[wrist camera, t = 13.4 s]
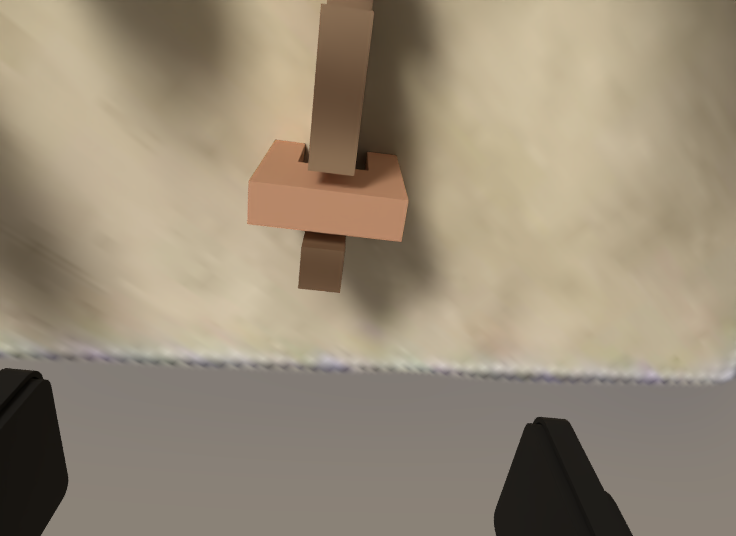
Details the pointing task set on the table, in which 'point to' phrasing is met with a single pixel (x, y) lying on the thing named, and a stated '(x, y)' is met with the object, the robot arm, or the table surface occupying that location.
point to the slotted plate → (328, 195)
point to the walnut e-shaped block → (336, 124)
